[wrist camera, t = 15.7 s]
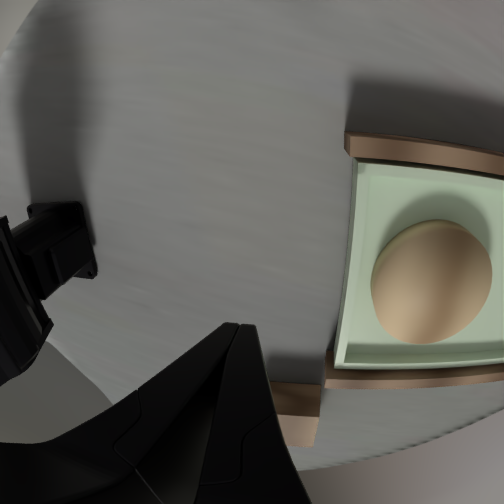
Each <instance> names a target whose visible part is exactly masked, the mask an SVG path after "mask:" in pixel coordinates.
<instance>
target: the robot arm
mask: <svg viewBox="0 0 504 504" xmlns="http://www.w3.org/2000/svg"><path fill="white" fill-rule="evenodd" d="M75 207H76V208H77V210H76V208H75ZM27 212H28V217H29V219H28V220H27V221H25V222H23V223H22V224H20V225H18V226H16V227H15V228H13V229H11V230H10V228H9V225H8V223H9V221H8V219H7V216H6V215H5V216H3V217H0V386H1V385H3V384H4V383H6V382H7V381H8V380H10V379H12V378H14V377H16V376H18V375H20V374H21V373H23V372H25V371H26V370H27V369H28V368H29V367H30V366H31V365H32V363H33V362H34V361H35V359H36V357H37V355H38V353H39V351H40V349H41V347H42V345H43V344H44V342H45V340H46V338H47V336H48V335H49V333H50V331H51V329H52V327H53V326H54V324H53V322H52V320H51V318H49V317H48V315H47V313H46V311H45V309H44V307H43V305H42V303H41V301H42V300H46V299H47V298H48V297H49V296H50V295H51V294H52V293H53V292H55V291H56V290H57V289H58V288H59V287H60V286H61V285H64V284H65V283H66V282H67V281H69V280H70V279H71V278H72V277H79V278H86V279H94V278H95V277H96V276H97V270H96V266H95V262H94V258H93V254H92V250H91V246H90V241H89V237H88V233H87V228H86V223H85V219H84V214H83V209H82V205H81V204H80V202H78V201H69V202H51V203H35V204H31V205H29V206H28V207H27ZM0 504H312V502H311V500H310V498H309V496H308V494H307V492H306V489H305V487H304V485H303V483H302V481H301V479H300V476H299V474H298V472H297V470H296V468H295V466H294V463H293V461H292V459H291V456H290V454H289V451H288V449H287V446H286V444H285V440H284V437H283V434H282V430H281V427H280V423H279V419H278V415H277V411H276V407H275V403H274V399H273V395H272V391H271V387H270V383H269V379H268V375H267V370H266V366H265V362H264V358H263V354H262V350H261V345H260V341H259V337H258V333H257V329H256V326H255V325H252V324H241V325H240V324H238V323H230V322H225V323H223V324H222V325H221V326H219V327H218V328H217V329H216V330H214V331H213V332H212V333H210V334H209V335H208V336H206V337H205V338H204V339H203V340H201V341H200V342H199V343H197V344H196V345H195V346H194V347H192V348H191V349H190V350H188V351H187V352H186V353H184V354H183V355H182V356H180V357H179V358H178V359H176V360H175V361H174V362H172V363H171V364H170V365H168V366H167V367H166V368H164V369H163V370H162V371H160V372H159V373H158V374H156V375H155V376H154V377H152V378H151V379H150V380H148V381H147V382H146V383H144V384H143V385H142V386H140V387H139V388H138V390H135V391H133V392H132V393H130V394H129V395H128V396H126V397H125V398H123V399H122V400H121V401H119V402H118V403H116V404H115V405H113V406H112V407H110V408H109V409H107V410H105V411H104V412H102V413H100V414H99V415H97V416H95V417H93V418H92V419H90V420H88V421H86V422H84V423H83V424H81V425H79V426H77V427H75V428H73V429H72V430H70V431H68V432H66V433H64V434H62V435H60V436H58V437H56V438H54V439H52V440H49V441H46V442H42V443H35V444H22V443H2V442H0Z"/></svg>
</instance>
